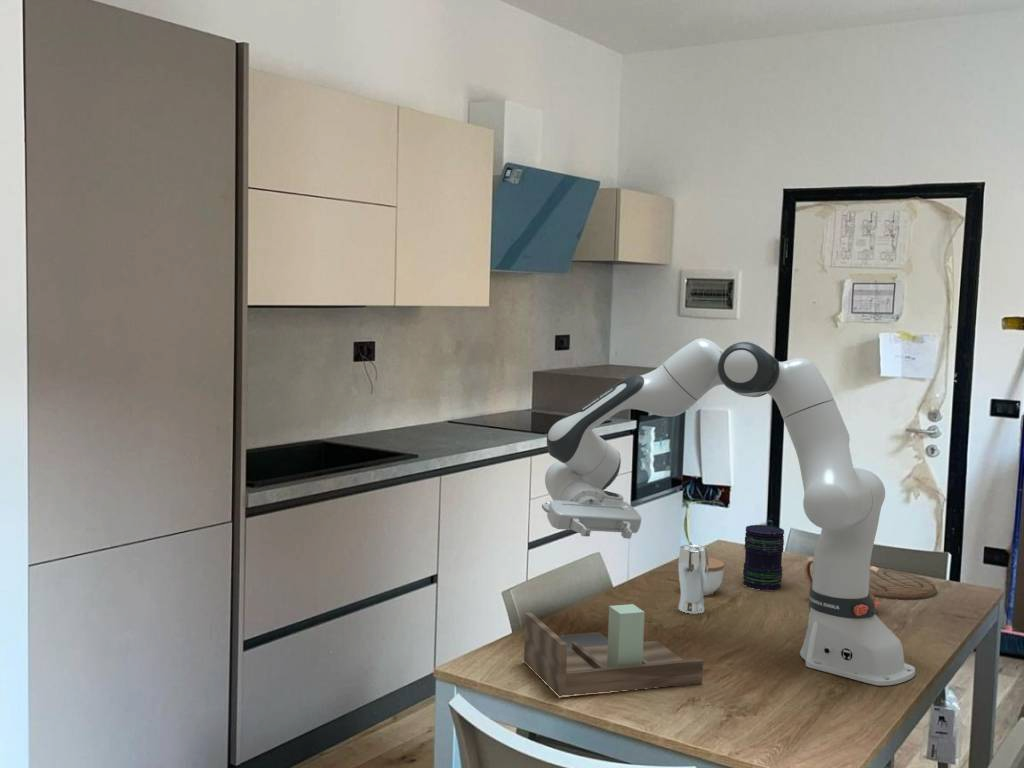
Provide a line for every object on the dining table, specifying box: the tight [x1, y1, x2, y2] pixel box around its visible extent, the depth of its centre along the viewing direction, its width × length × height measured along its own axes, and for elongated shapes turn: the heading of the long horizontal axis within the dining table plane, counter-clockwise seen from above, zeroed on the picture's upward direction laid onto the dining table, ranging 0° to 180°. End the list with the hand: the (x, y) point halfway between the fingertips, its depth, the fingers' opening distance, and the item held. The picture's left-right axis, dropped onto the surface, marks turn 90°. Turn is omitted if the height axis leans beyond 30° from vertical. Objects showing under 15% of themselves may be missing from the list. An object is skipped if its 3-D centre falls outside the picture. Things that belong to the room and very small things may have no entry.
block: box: [607, 603, 645, 667], centre depth 192 cm, size 5×5×12 cm
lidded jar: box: [703, 557, 725, 596], centre depth 254 cm, size 11×11×9 cm
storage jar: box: [742, 524, 785, 591], centre depth 261 cm, size 10×10×15 cm
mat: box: [556, 631, 608, 649], centre depth 211 cm, size 12×13×1 cm
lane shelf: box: [523, 612, 704, 696], centre depth 196 cm, size 19×29×10 cm, turn 109°
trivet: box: [869, 567, 937, 601], centre depth 265 cm, size 25×25×2 cm
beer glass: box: [677, 544, 709, 615], centre depth 238 cm, size 7×7×15 cm
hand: (608, 534), depth 207 cm, fingers open, 8 cm apart
